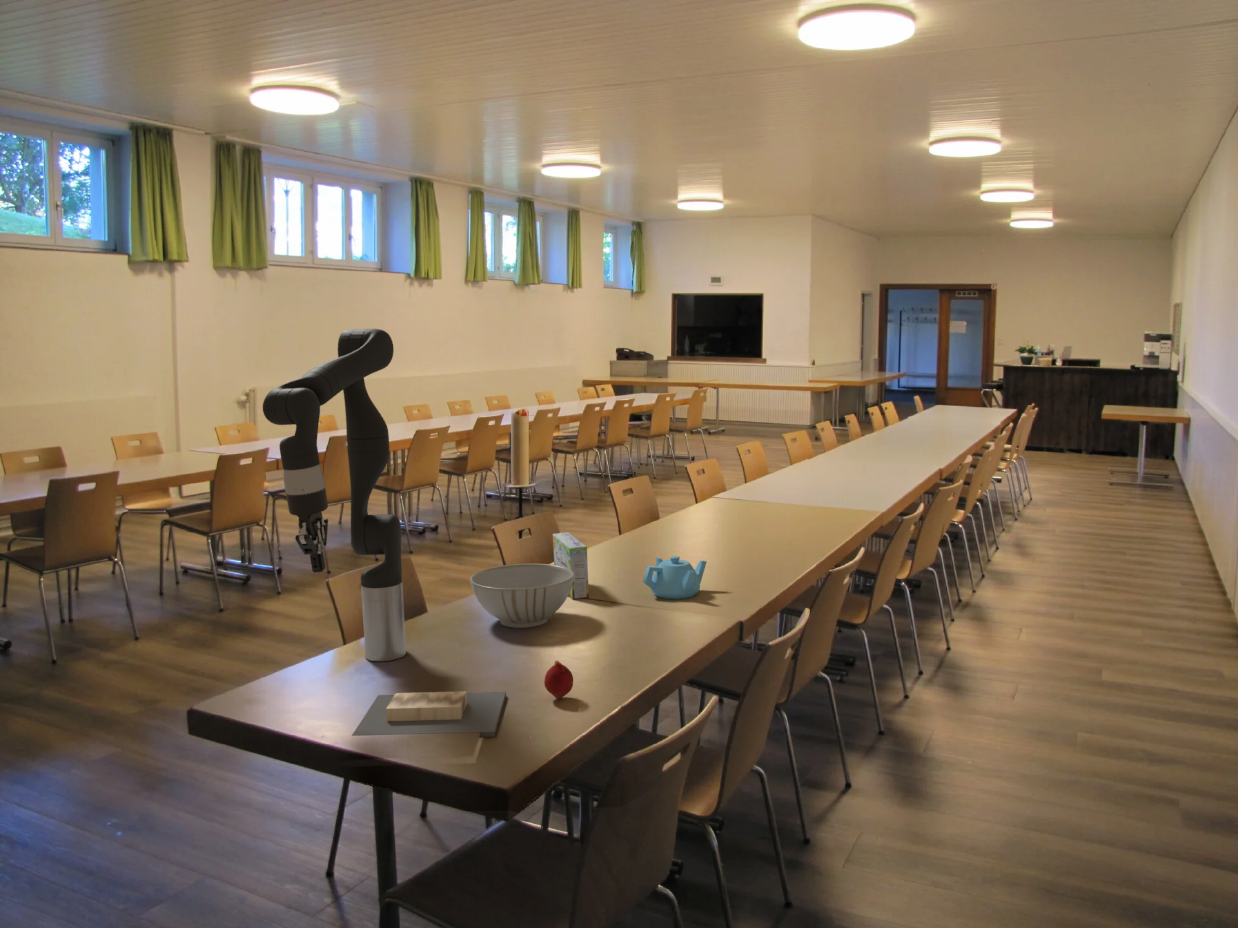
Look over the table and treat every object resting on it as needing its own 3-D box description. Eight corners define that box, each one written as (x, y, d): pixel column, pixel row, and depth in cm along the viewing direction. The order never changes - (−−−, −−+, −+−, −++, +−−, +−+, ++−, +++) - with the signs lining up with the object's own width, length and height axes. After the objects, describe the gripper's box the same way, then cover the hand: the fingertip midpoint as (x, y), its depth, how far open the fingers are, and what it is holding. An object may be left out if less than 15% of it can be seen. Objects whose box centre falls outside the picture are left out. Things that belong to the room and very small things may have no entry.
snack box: (553, 582, 286) (551, 533, 284) (571, 580, 288) (569, 531, 286) (571, 600, 266) (569, 547, 264) (590, 598, 268) (588, 545, 266)
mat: (378, 699, 195) (378, 694, 194) (506, 696, 195) (505, 691, 195) (352, 740, 175) (351, 735, 175) (494, 736, 175) (494, 731, 175)
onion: (574, 692, 196) (572, 655, 195) (573, 703, 190) (572, 664, 189) (545, 693, 196) (544, 656, 195) (544, 704, 190) (542, 665, 189)
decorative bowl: (527, 643, 229) (525, 594, 227) (450, 625, 245) (447, 579, 243) (596, 616, 250) (595, 571, 248) (521, 601, 266) (520, 559, 264)
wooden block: (395, 693, 188) (466, 691, 188) (396, 705, 189) (467, 703, 189) (386, 708, 180) (460, 706, 180) (386, 721, 181) (460, 719, 181)
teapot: (657, 585, 280) (656, 549, 279) (707, 588, 275) (707, 551, 274) (641, 599, 266) (640, 561, 265) (693, 602, 261) (693, 564, 260)
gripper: (312, 495, 183) (327, 580, 186) (334, 478, 195) (347, 558, 199) (274, 498, 183) (289, 583, 187) (298, 481, 196) (312, 561, 200)
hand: (319, 570), depth 193 cm, fingers closed
